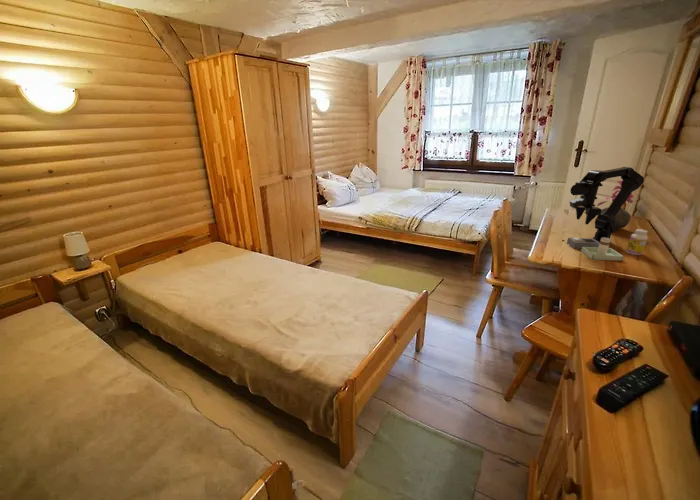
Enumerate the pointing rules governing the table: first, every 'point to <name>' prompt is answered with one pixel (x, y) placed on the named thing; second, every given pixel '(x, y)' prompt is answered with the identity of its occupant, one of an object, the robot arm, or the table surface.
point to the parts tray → (609, 255)
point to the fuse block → (582, 242)
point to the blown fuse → (603, 246)
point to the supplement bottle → (637, 242)
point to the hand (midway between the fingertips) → (582, 221)
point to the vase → (622, 214)
